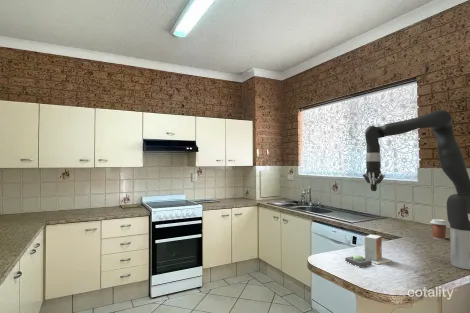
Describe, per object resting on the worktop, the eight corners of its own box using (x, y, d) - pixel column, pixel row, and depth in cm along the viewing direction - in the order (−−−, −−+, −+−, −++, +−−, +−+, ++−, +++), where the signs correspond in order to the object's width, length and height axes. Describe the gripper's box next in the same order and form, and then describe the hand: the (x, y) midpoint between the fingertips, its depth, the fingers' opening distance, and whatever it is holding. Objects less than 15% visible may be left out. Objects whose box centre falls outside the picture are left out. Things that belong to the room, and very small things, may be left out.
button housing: (371, 264, 127) (371, 260, 127) (359, 267, 123) (359, 262, 123) (356, 259, 134) (356, 255, 134) (345, 261, 130) (345, 257, 130)
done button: (365, 262, 128) (365, 257, 128) (359, 264, 126) (359, 258, 126) (357, 259, 132) (357, 254, 132) (351, 261, 130) (351, 255, 130)
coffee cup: (451, 240, 171) (450, 221, 172) (434, 239, 173) (434, 220, 174) (443, 237, 180) (442, 218, 181) (427, 236, 182) (427, 218, 183)
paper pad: (391, 261, 132) (391, 259, 132) (377, 264, 127) (377, 263, 127) (371, 254, 142) (371, 253, 142) (356, 257, 137) (356, 256, 137)
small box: (376, 261, 130) (376, 238, 131) (364, 258, 134) (364, 236, 135) (382, 257, 136) (381, 236, 136) (370, 254, 140) (370, 234, 140)
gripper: (388, 160, 153) (388, 191, 152) (367, 161, 165) (367, 189, 164) (379, 160, 150) (380, 192, 149) (359, 160, 161) (359, 190, 161)
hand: (373, 190), depth 156 cm, fingers closed
